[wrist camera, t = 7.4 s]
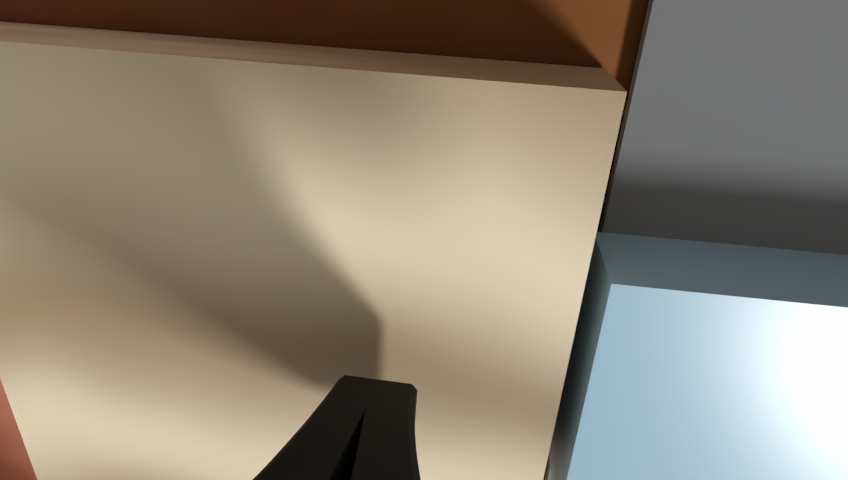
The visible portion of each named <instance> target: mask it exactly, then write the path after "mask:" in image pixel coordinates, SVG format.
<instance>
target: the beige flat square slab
mask: <svg viewBox="0 0 848 480" xmlns="http://www.w3.org/2000/svg"><path fill="white" fill-rule="evenodd" d="M626 95H627V91H626V90H625V89H624V88H623V87H622V86H621V85H620V84H619V83H618V82H617V81H616V80H615V79H614V78H613V77H612V75H611V74H610V73H609V72H608V71H607V70H606V69H605V68H595V67H582V66H569V65H556V64H543V63H530V62H517V61H505V60H492V59H479V58H466V57H453V56H440V55H427V54H414V53H401V52H388V51H375V50H363V49H350V48H337V47H324V46H311V45H298V44H285V43H272V42H259V41H246V40H233V39H220V38H208V37H195V36H182V35H169V34H156V33H143V32H130V31H117V30H104V29H91V28H78V27H66V26H53V25H40V24H27V23H14V22H1V21H0V378H1V381H2V384H3V387H4V389H5V392H6V395H7V398H8V400H9V403H10V406H11V409H12V411H13V414H14V417H15V420H16V422H17V425H18V428H19V431H20V433H21V436H22V439H23V442H24V444H25V447H26V450H27V453H28V455H29V458H30V461H31V463H32V466H33V469H34V472H35V474H36V477H37V480H253V479H254V478H255V477H256V476H257V475H258V474H259V473H260V472H261V471H262V470H263V469H264V467H265V466H266V465H267V464H268V463H269V462H270V461H271V460H272V459H273V458H274V457H275V456H276V454H277V453H278V452H279V451H280V450H281V449H282V448H283V447H284V446H285V444H286V443H287V442H288V441H289V440H290V439H291V438H292V437H293V436H294V434H295V433H296V432H297V431H298V430H299V429H300V428H301V426H302V425H303V424H304V423H305V422H306V420H307V419H308V418H309V417H310V416H311V414H312V413H313V412H314V411H315V410H316V408H317V407H318V406H319V405H320V403H321V402H322V401H323V400H324V398H325V397H326V396H327V394H328V393H329V392H330V390H331V389H332V388H333V386H334V385H335V384H336V382H337V381H338V380H339V379H340V378H341V377H343V376H344V375H348V376H355V377H363V378H371V379H378V380H386V381H393V382H401V383H409V384H412V385H413V386H414V387H415V388H416V389H417V403H416V417H415V439H416V451H417V460H418V466H419V473H420V479H421V480H543V478H544V473H545V469H546V464H547V460H548V455H549V450H550V446H551V441H552V436H553V432H554V427H555V423H556V418H557V413H558V409H559V404H560V400H561V395H562V390H563V386H564V381H565V376H566V372H567V367H568V363H569V358H570V353H571V349H572V344H573V339H574V335H575V330H576V326H577V321H578V316H579V312H580V307H581V302H582V298H583V293H584V289H585V284H586V279H587V275H588V270H589V266H590V261H591V256H592V252H593V247H594V242H595V238H596V233H597V229H598V224H599V219H600V215H601V210H602V205H603V201H604V196H605V192H606V187H607V182H608V178H609V173H610V169H611V164H612V159H613V155H614V150H615V145H616V141H617V136H618V132H619V127H620V122H621V118H622V113H623V108H624V104H625V99H626Z"/></svg>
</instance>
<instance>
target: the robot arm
mask: <svg viewBox="0 0 848 480" xmlns="http://www.w3.org/2000/svg"><path fill="white" fill-rule="evenodd" d="M416 403H417V389H416V388H415V387H414V386H413V385H412V384H409V383H401V382H393V381H386V380H378V379H371V378H363V377H355V376H348V375H344V376H343V377H341V378H340V379H339V380H338V381H337V382H336V384H335V385H334V386H333V388H332V389H331V390H330V392H329V393H328V394H327V396H326V397H325V398H324V400H323V401H322V402H321V403H320V405H319V406H318V407H317V408H316V410H315V411H314V412H313V413H312V414H311V416H310V417H309V418H308V419H307V420H306V422H305V423H304V424H303V425H302V426H301V428H300V429H299V430H298V431H297V432H296V433H295V434H294V436H293V437H292V438H291V439H290V440H289V441H288V442H287V443H286V444H285V446H284V447H283V448H282V449H281V450H280V451H279V452H278V453H277V454H276V456H275V457H274V458H273V459H272V460H271V461H270V462H269V463H268V464H267V465H266V466H265V467H264V469H263V470H262V471H261V472H260V473H259V474H258V475H257V476H256V477H255V478H254V479H253V480H421V479H420V473H419V466H418V460H417V451H416V439H415V417H416Z"/></svg>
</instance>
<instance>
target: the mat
mask: <svg viewBox="0 0 848 480" xmlns="http://www.w3.org/2000/svg"><path fill="white" fill-rule="evenodd" d="M599 232H605V233H616V234H627V235H637V236H648V237H659V238H670V239H680V240H691V241H702V242H713V243H723V244H734V245H745V246H756V247H766V248H777V249H788V250H799V251H810V252H820V253H831V254H842V255H848V0H649V2H648V7H647V11H646V16H645V21H644V25H643V30H642V34H641V39H640V44H639V48H638V53H637V57H636V62H635V66H634V71H633V76H632V80H631V85H630V89H629V94H628V99H627V103H626V108H625V112H624V117H623V122H622V126H621V131H620V135H619V140H618V145H617V149H616V154H615V158H614V163H613V167H612V172H611V177H610V181H609V186H608V190H607V195H606V200H605V204H604V209H603V213H602V218H601V223H600V227H599ZM544 480H551V470H550V460H549V461H548V466H547V470H546V475H545V479H544Z"/></svg>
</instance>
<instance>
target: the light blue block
mask: <svg viewBox="0 0 848 480" xmlns="http://www.w3.org/2000/svg"><path fill="white" fill-rule="evenodd" d="M549 460H550V470H551V480H848V255H842V254H831V253H820V252H810V251H799V250H788V249H777V248H766V247H756V246H745V245H734V244H723V243H713V242H702V241H691V240H680V239H670V238H659V237H648V236H637V235H627V234H616V233H605V232H597V233H596V238H595V242H594V247H593V252H592V256H591V261H590V266H589V270H588V275H587V279H586V284H585V289H584V293H583V298H582V302H581V307H580V312H579V316H578V321H577V326H576V330H575V335H574V339H573V344H572V349H571V353H570V358H569V363H568V367H567V372H566V376H565V381H564V386H563V390H562V395H561V400H560V404H559V409H558V413H557V418H556V423H555V427H554V432H553V436H552V441H551V446H550V450H549Z"/></svg>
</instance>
